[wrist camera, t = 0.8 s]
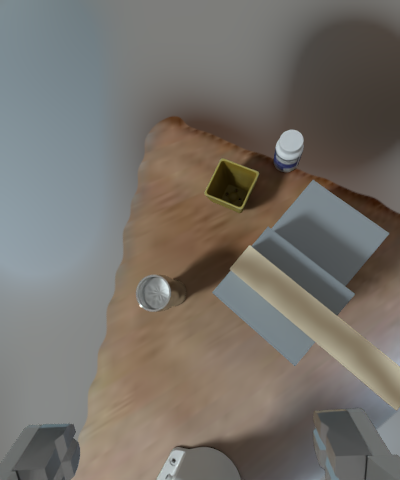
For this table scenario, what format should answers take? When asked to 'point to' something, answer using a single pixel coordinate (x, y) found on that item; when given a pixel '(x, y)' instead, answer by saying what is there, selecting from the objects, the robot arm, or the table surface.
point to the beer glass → (160, 293)
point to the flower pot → (231, 185)
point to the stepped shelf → (306, 264)
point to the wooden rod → (321, 325)
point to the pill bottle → (288, 151)
